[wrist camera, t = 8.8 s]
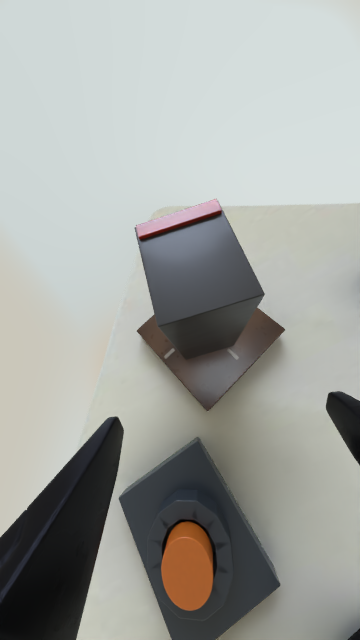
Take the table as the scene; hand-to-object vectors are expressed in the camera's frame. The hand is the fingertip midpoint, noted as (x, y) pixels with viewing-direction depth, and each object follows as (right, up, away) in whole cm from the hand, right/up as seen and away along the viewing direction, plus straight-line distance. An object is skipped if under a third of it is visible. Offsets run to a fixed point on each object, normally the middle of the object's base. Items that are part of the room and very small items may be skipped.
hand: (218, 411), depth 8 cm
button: (-1, -14, +6) cm, 15 cm away
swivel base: (+2, +2, +15) cm, 15 cm away
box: (+1, +3, +14) cm, 14 cm away
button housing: (0, -15, +9) cm, 18 cm away
